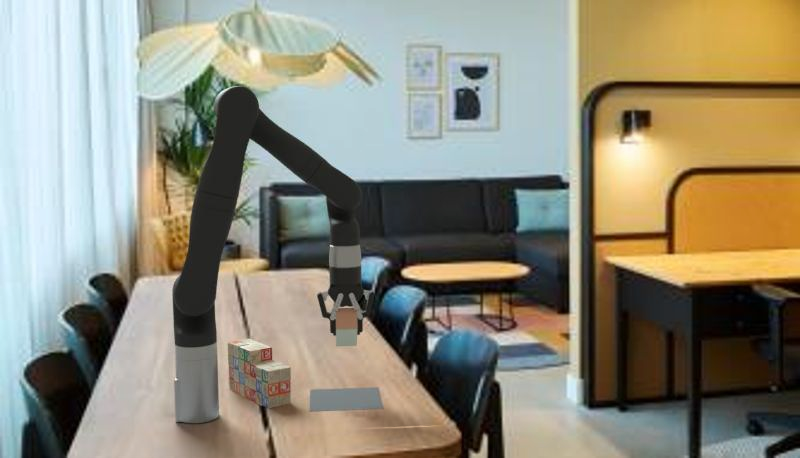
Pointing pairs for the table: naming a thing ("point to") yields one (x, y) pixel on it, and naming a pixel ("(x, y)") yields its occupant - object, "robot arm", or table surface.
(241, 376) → the stack of blocks
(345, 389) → the charcoal mat
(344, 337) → the sage block
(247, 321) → the table surface
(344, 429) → the table surface
